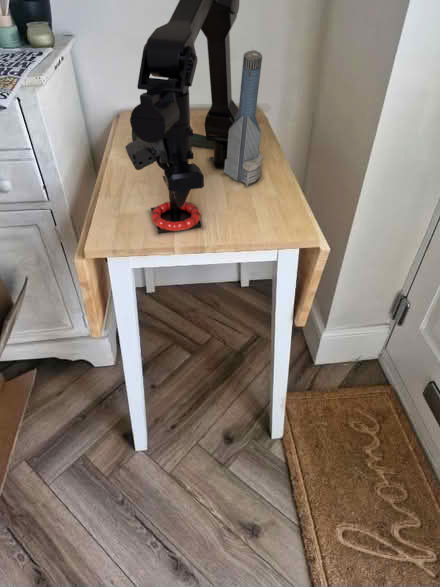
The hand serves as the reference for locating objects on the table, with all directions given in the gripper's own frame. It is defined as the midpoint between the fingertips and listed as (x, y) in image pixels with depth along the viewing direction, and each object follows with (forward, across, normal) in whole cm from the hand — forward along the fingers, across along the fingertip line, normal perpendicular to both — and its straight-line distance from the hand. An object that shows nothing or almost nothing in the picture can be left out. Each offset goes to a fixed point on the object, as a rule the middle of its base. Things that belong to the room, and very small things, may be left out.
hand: (177, 201), depth 83 cm
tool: (+7, -43, +10) cm, 45 cm away
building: (+6, -20, +20) cm, 29 cm away
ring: (+5, -3, 0) cm, 5 cm away
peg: (+6, -4, 0) cm, 8 cm away
